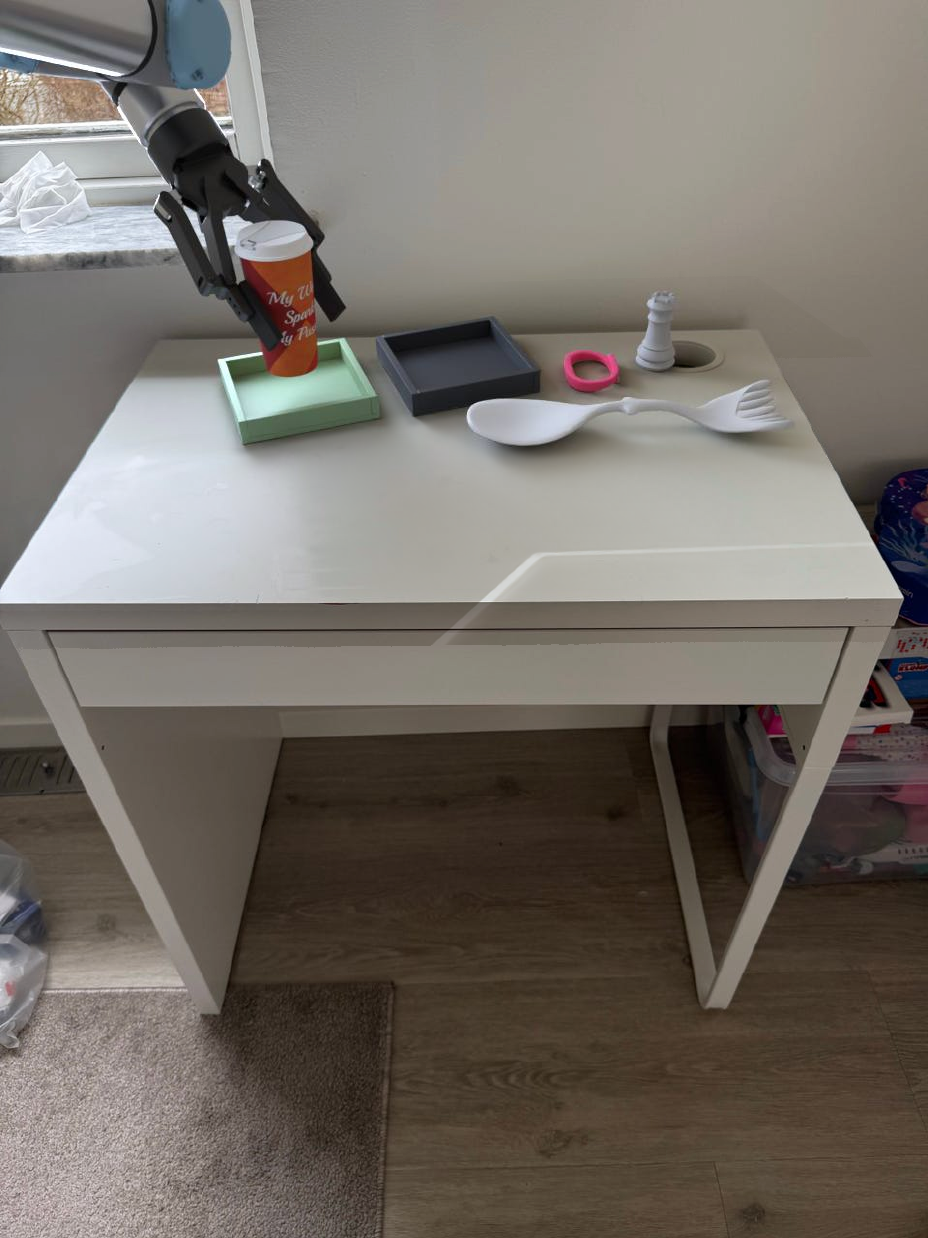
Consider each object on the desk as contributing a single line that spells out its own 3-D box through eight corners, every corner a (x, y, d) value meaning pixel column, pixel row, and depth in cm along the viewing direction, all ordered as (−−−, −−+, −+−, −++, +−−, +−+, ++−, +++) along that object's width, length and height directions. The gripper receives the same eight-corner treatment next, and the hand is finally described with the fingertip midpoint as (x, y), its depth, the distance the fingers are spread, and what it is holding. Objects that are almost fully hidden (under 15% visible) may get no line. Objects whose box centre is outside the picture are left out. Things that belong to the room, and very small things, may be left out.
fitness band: (623, 392, 103) (624, 379, 102) (569, 394, 103) (570, 382, 102) (610, 357, 109) (611, 345, 108) (560, 359, 109) (561, 347, 108)
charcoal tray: (413, 416, 101) (411, 394, 99) (377, 356, 111) (375, 336, 109) (540, 391, 104) (540, 370, 102) (493, 336, 114) (493, 315, 112)
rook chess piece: (680, 359, 109) (690, 292, 103) (665, 376, 106) (674, 307, 100) (644, 351, 110) (652, 284, 105) (628, 366, 108) (635, 298, 102)
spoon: (789, 449, 94) (796, 419, 92) (468, 460, 94) (467, 429, 92) (765, 404, 101) (771, 374, 98) (466, 413, 101) (465, 384, 98)
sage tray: (242, 444, 97) (238, 422, 95) (222, 380, 107) (217, 359, 106) (379, 417, 100) (377, 395, 99) (346, 358, 111) (344, 337, 109)
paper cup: (292, 389, 97) (270, 253, 88) (241, 368, 101) (215, 236, 91) (344, 360, 102) (328, 227, 92) (293, 341, 105) (273, 212, 96)
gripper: (245, 129, 102) (364, 312, 105) (77, 180, 91) (215, 383, 94) (270, 82, 96) (395, 277, 99) (93, 129, 85) (240, 349, 87)
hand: (307, 329), depth 96 cm, fingers closed on paper cup, 8 cm apart
